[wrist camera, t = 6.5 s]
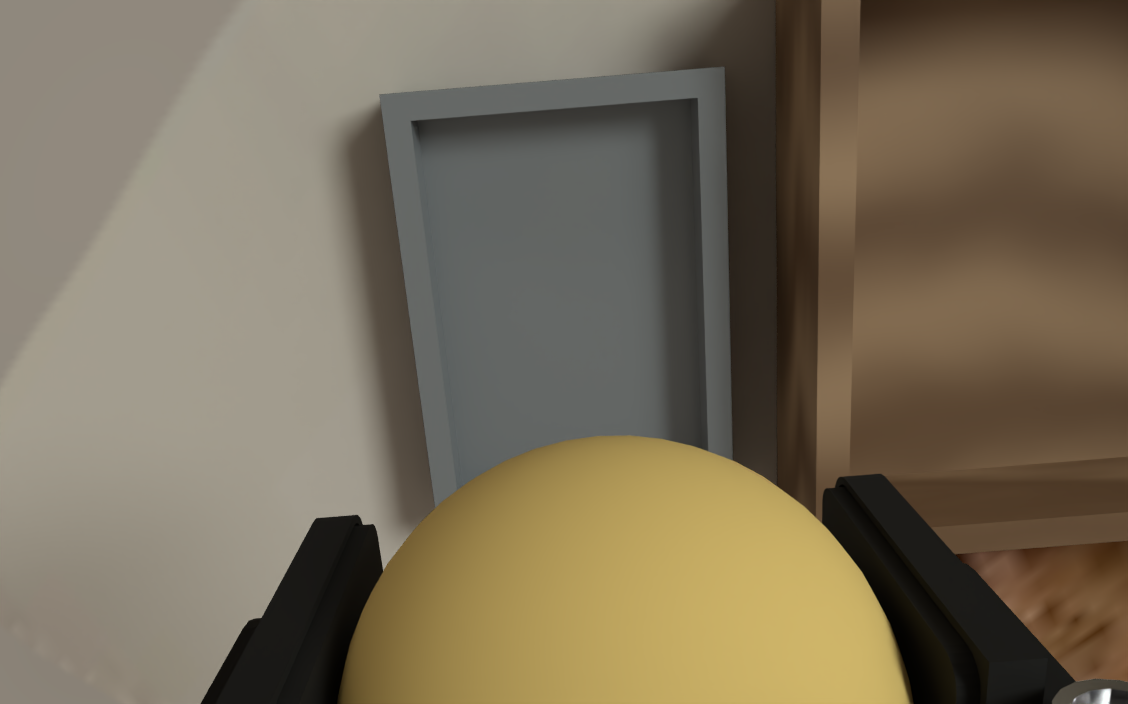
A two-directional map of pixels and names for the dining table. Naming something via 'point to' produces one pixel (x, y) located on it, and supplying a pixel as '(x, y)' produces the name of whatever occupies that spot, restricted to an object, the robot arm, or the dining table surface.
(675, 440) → the dish
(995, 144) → the walnut box
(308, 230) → the dining table surface
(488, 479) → the ball
